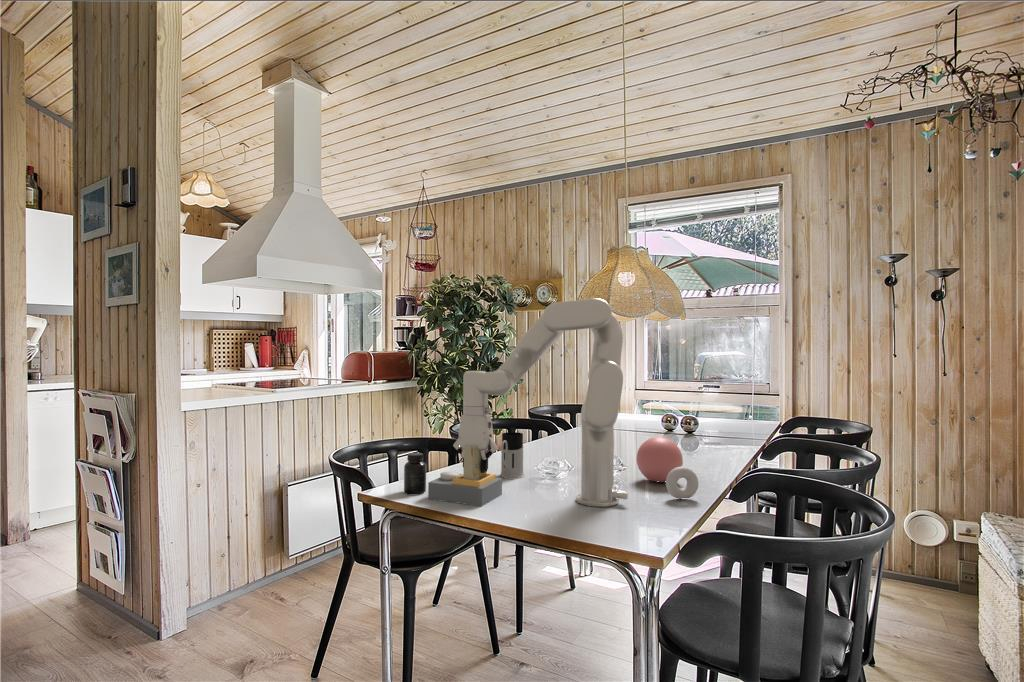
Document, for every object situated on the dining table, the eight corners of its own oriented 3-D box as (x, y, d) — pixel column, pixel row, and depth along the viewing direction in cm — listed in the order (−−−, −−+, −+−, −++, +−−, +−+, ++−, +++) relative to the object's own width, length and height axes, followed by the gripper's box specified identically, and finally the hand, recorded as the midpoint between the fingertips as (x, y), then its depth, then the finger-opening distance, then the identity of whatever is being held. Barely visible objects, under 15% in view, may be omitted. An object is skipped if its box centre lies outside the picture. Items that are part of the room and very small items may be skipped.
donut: (695, 497, 167) (695, 465, 167) (700, 501, 163) (700, 467, 164) (664, 498, 166) (664, 465, 166) (668, 501, 163) (668, 467, 163)
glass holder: (527, 474, 197) (528, 432, 197) (513, 483, 184) (514, 438, 184) (505, 472, 200) (505, 431, 200) (490, 480, 187) (490, 437, 187)
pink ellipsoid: (678, 475, 197) (678, 432, 198) (685, 488, 178) (685, 441, 178) (635, 473, 200) (635, 431, 201) (637, 486, 181) (637, 440, 181)
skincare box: (473, 488, 161) (473, 447, 161) (462, 486, 163) (462, 445, 164) (487, 484, 166) (487, 444, 166) (476, 482, 169) (476, 442, 169)
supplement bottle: (405, 489, 174) (405, 452, 174) (426, 489, 174) (426, 451, 175) (402, 495, 167) (403, 456, 167) (425, 494, 168) (425, 455, 168)
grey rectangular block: (501, 494, 169) (502, 473, 169) (481, 506, 156) (482, 483, 156) (451, 488, 176) (451, 468, 176) (428, 499, 163) (428, 477, 163)
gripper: (506, 411, 165) (506, 471, 165) (456, 408, 172) (456, 466, 172) (495, 414, 158) (495, 476, 158) (444, 411, 165) (444, 471, 165)
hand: (475, 470), depth 165 cm, fingers closed on skincare box, 5 cm apart
